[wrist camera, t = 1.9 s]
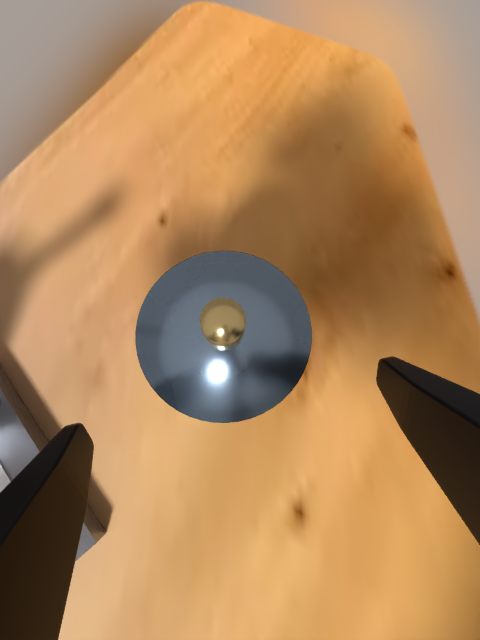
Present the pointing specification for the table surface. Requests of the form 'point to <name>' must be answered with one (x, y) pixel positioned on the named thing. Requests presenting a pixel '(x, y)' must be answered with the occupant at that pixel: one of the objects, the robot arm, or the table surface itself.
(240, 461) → the table surface
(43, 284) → the table surface
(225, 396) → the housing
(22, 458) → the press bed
